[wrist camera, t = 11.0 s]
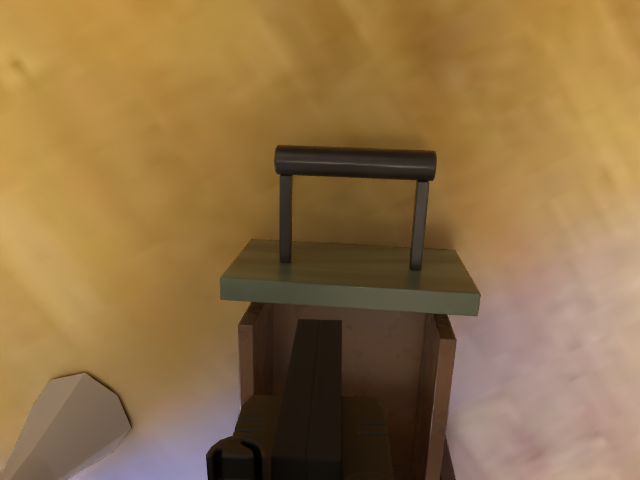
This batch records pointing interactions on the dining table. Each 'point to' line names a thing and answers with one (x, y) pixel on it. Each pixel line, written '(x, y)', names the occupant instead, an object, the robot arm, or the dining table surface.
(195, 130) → the dining table surface
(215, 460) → the robot arm
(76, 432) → the flask
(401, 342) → the drawer
